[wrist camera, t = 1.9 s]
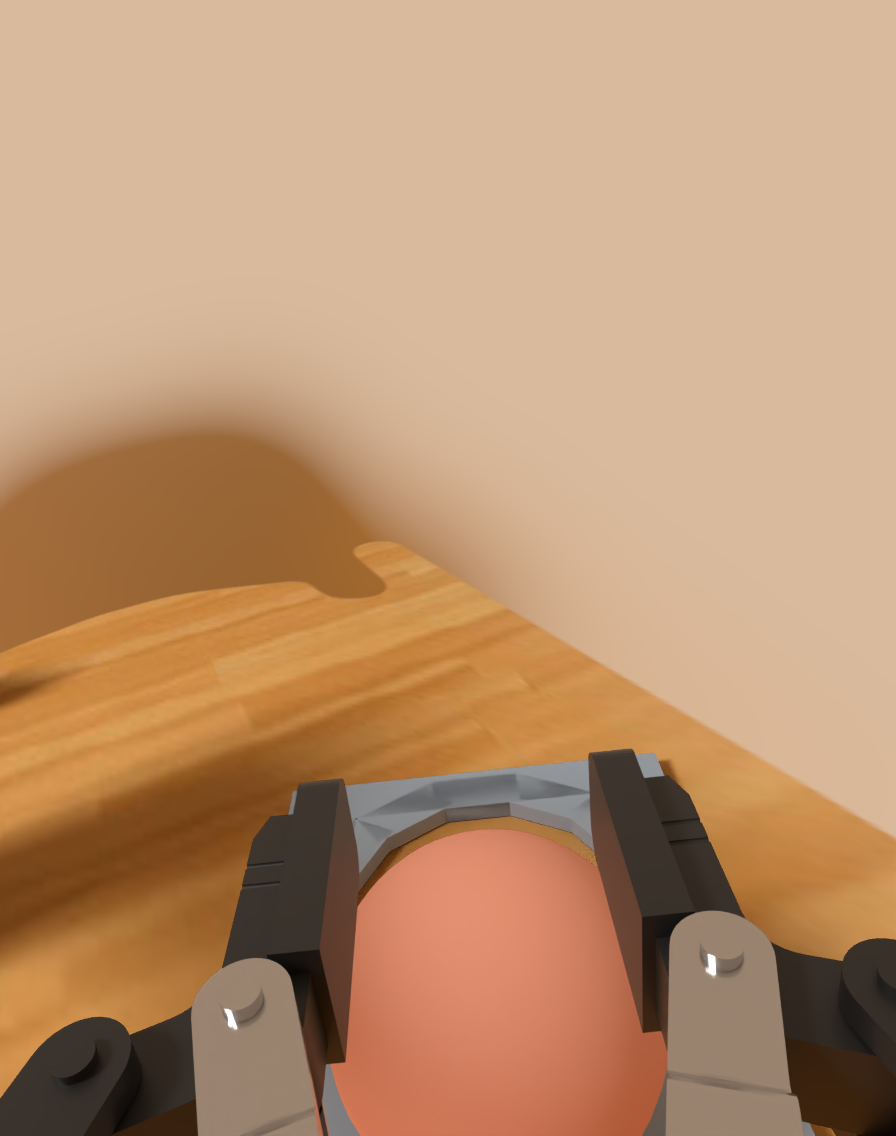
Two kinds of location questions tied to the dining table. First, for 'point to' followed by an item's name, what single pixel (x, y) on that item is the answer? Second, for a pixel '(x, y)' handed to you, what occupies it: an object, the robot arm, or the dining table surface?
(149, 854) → the dining table surface
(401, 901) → the ball
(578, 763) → the hole board
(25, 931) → the dining table surface
